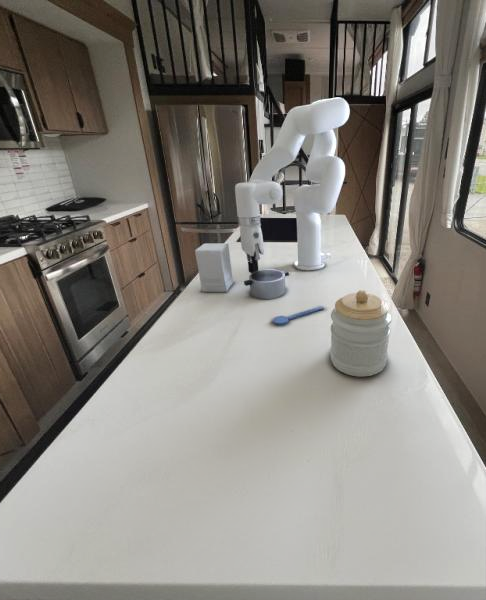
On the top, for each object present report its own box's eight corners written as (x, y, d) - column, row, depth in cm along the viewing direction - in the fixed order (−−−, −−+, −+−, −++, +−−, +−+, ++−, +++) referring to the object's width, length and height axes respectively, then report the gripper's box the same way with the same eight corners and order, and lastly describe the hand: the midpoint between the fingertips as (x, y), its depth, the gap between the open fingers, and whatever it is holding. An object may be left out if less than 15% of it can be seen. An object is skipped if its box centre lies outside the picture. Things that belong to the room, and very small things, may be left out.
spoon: (318, 306, 100) (318, 303, 100) (326, 311, 97) (326, 309, 97) (271, 320, 93) (270, 318, 92) (278, 327, 90) (277, 324, 89)
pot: (280, 281, 120) (279, 265, 117) (297, 292, 110) (296, 275, 108) (239, 291, 112) (237, 275, 109) (253, 303, 103) (252, 286, 100)
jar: (351, 385, 67) (355, 310, 60) (319, 353, 78) (319, 286, 70) (398, 366, 73) (408, 295, 65) (363, 339, 83) (368, 275, 75)
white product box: (234, 282, 119) (229, 242, 113) (226, 292, 111) (220, 250, 105) (210, 281, 120) (204, 242, 114) (201, 291, 112) (193, 250, 106)
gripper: (269, 223, 106) (272, 276, 114) (250, 216, 117) (254, 264, 125) (247, 226, 102) (252, 280, 110) (231, 218, 114) (236, 268, 122)
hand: (253, 271), depth 118 cm, fingers closed
